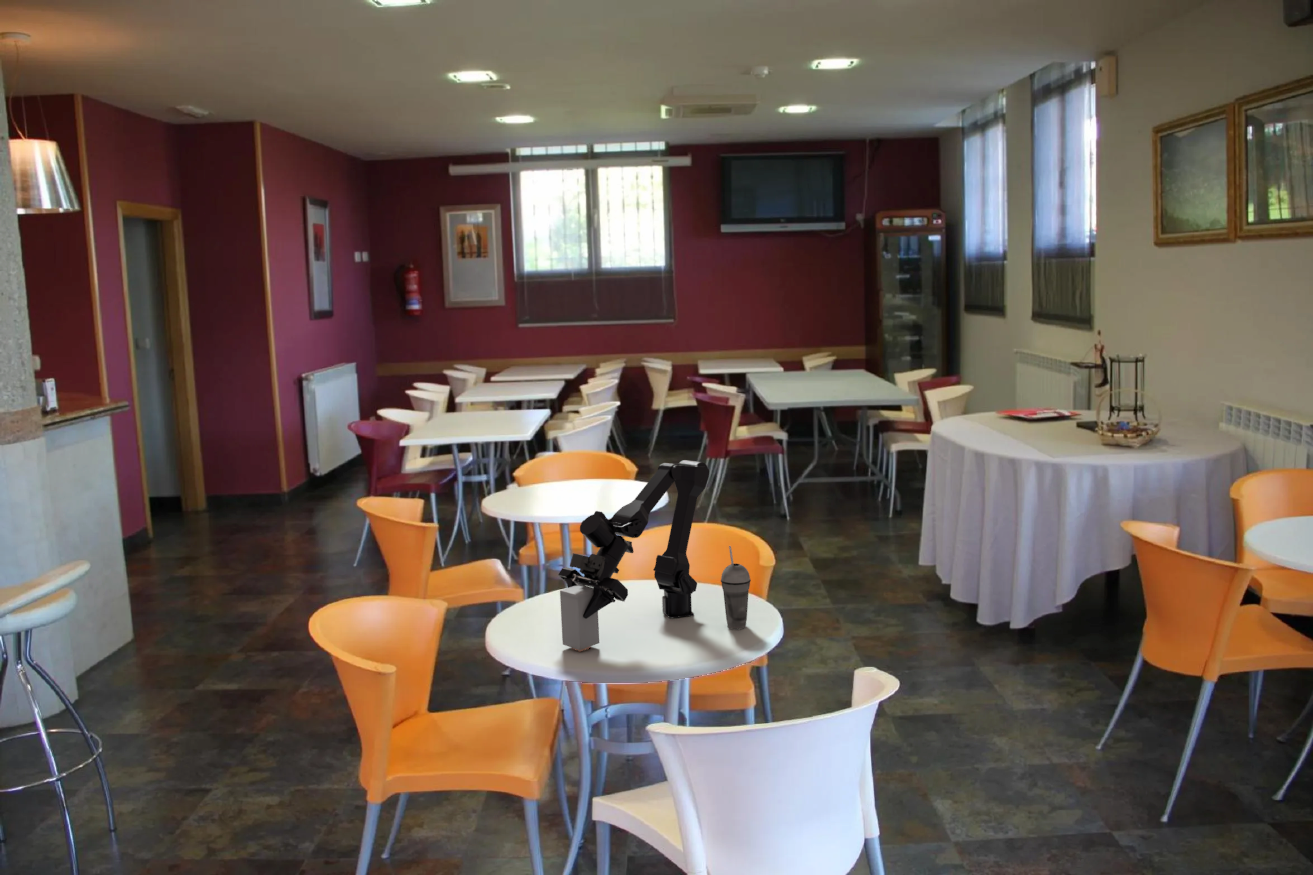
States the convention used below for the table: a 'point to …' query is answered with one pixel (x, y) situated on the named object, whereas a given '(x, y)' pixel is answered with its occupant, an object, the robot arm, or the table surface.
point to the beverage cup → (735, 594)
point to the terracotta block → (582, 649)
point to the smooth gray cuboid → (578, 618)
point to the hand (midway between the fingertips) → (575, 615)
